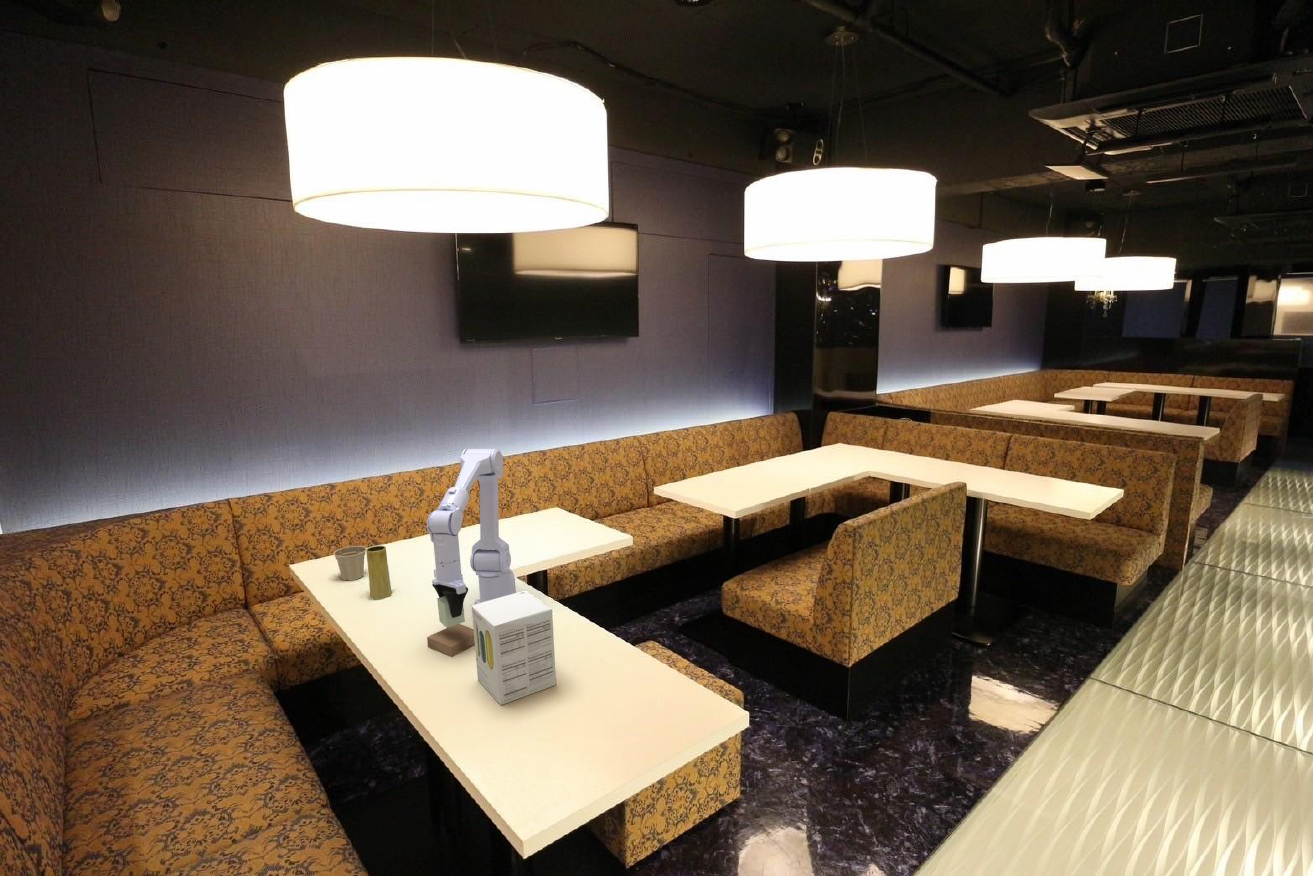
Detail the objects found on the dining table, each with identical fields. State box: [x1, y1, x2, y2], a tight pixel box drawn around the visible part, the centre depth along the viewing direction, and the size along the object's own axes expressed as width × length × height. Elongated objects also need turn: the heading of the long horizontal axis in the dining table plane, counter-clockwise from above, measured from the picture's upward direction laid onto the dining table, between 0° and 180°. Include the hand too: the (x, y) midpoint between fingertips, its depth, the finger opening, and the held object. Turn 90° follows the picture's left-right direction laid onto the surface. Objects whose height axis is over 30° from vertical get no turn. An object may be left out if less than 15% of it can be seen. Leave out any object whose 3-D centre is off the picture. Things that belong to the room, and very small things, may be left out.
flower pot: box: [333, 545, 368, 582], centre depth 208 cm, size 9×9×9 cm
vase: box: [365, 545, 393, 600], centre depth 193 cm, size 6×6×14 cm
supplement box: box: [471, 590, 557, 706], centre depth 143 cm, size 13×13×18 cm
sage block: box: [436, 596, 466, 628], centre depth 161 cm, size 4×4×6 cm
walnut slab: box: [426, 623, 475, 658], centre depth 162 cm, size 9×9×3 cm
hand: (452, 613), depth 161 cm, fingers closed on sage block, 4 cm apart
